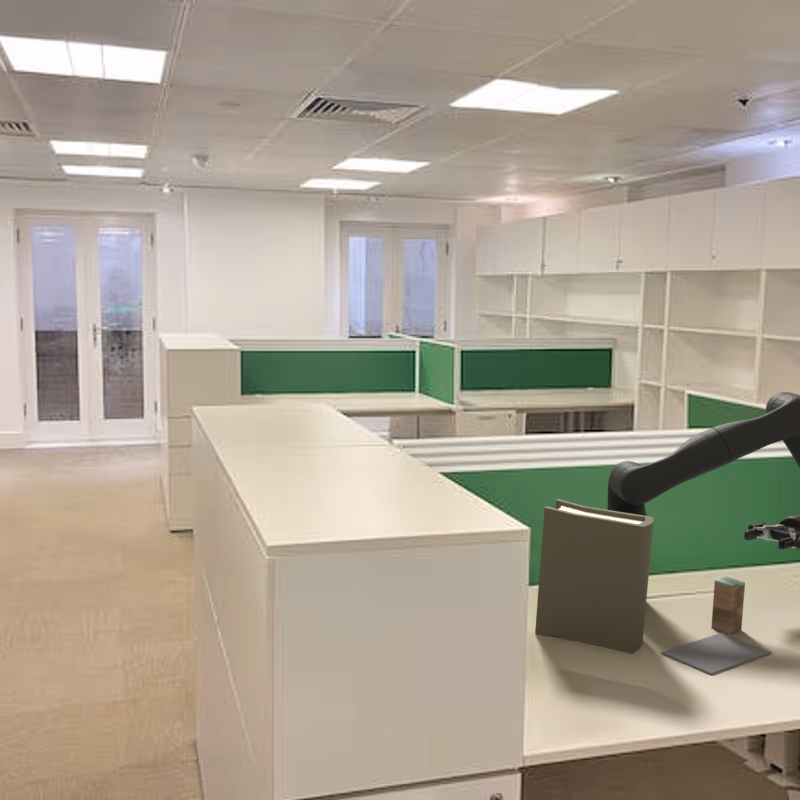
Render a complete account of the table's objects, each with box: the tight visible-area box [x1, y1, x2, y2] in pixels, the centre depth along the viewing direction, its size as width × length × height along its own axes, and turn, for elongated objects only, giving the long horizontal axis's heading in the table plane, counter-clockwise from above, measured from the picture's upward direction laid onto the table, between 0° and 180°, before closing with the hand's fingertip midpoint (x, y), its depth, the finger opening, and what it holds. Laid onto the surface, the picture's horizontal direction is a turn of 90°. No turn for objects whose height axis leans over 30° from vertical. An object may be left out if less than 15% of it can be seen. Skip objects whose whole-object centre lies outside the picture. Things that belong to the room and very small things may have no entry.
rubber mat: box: [661, 632, 772, 676], centre depth 187 cm, size 20×12×1 cm, turn 125°
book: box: [534, 498, 655, 654], centre depth 193 cm, size 22×9×28 cm, turn 63°
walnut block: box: [710, 576, 746, 635], centre depth 200 cm, size 4×4×11 cm
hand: (762, 540), depth 205 cm, fingers open, 8 cm apart
